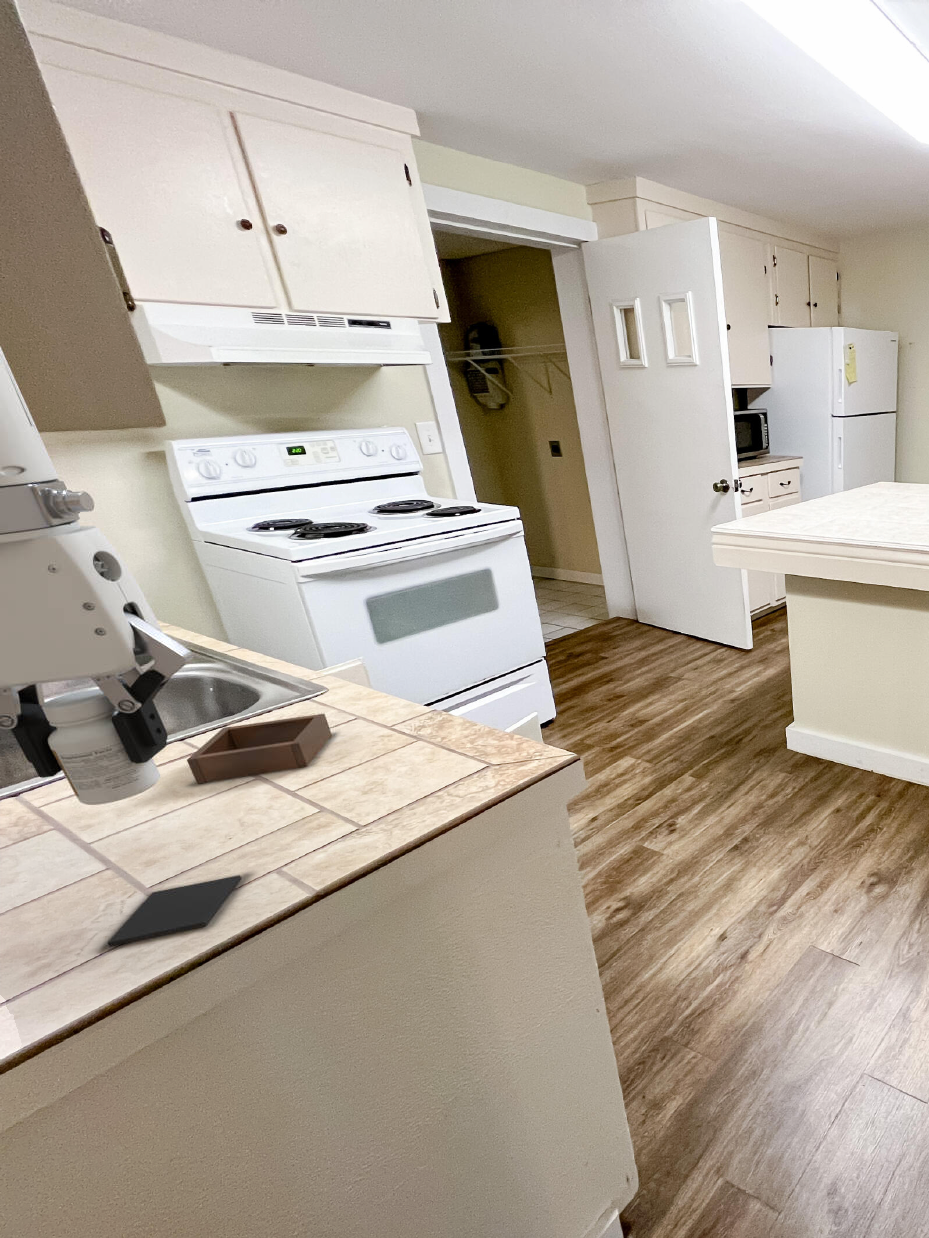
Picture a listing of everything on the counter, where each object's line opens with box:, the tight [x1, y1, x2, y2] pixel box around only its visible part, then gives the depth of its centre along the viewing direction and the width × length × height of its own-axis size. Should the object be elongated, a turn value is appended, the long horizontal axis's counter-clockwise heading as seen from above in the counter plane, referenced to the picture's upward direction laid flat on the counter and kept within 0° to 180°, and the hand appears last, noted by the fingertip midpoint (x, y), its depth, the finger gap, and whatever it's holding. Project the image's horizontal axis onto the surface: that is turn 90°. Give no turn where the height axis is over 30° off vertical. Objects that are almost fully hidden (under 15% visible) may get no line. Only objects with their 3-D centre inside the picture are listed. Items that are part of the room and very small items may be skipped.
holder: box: [186, 713, 333, 785], centre depth 79 cm, size 10×8×3 cm
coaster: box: [106, 874, 242, 947], centre depth 56 cm, size 6×6×1 cm
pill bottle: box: [42, 688, 161, 806], centre depth 50 cm, size 4×4×8 cm
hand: (106, 759), depth 51 cm, fingers closed on pill bottle, 4 cm apart
